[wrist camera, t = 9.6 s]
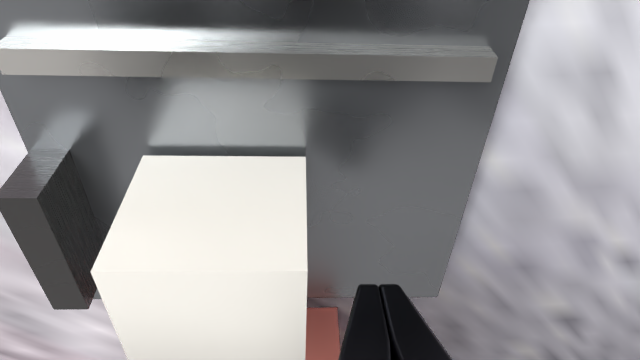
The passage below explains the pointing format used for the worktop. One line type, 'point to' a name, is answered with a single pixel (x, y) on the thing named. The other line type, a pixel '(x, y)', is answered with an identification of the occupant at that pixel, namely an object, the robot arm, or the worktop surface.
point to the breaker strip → (256, 120)
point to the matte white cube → (209, 259)
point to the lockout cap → (322, 334)
